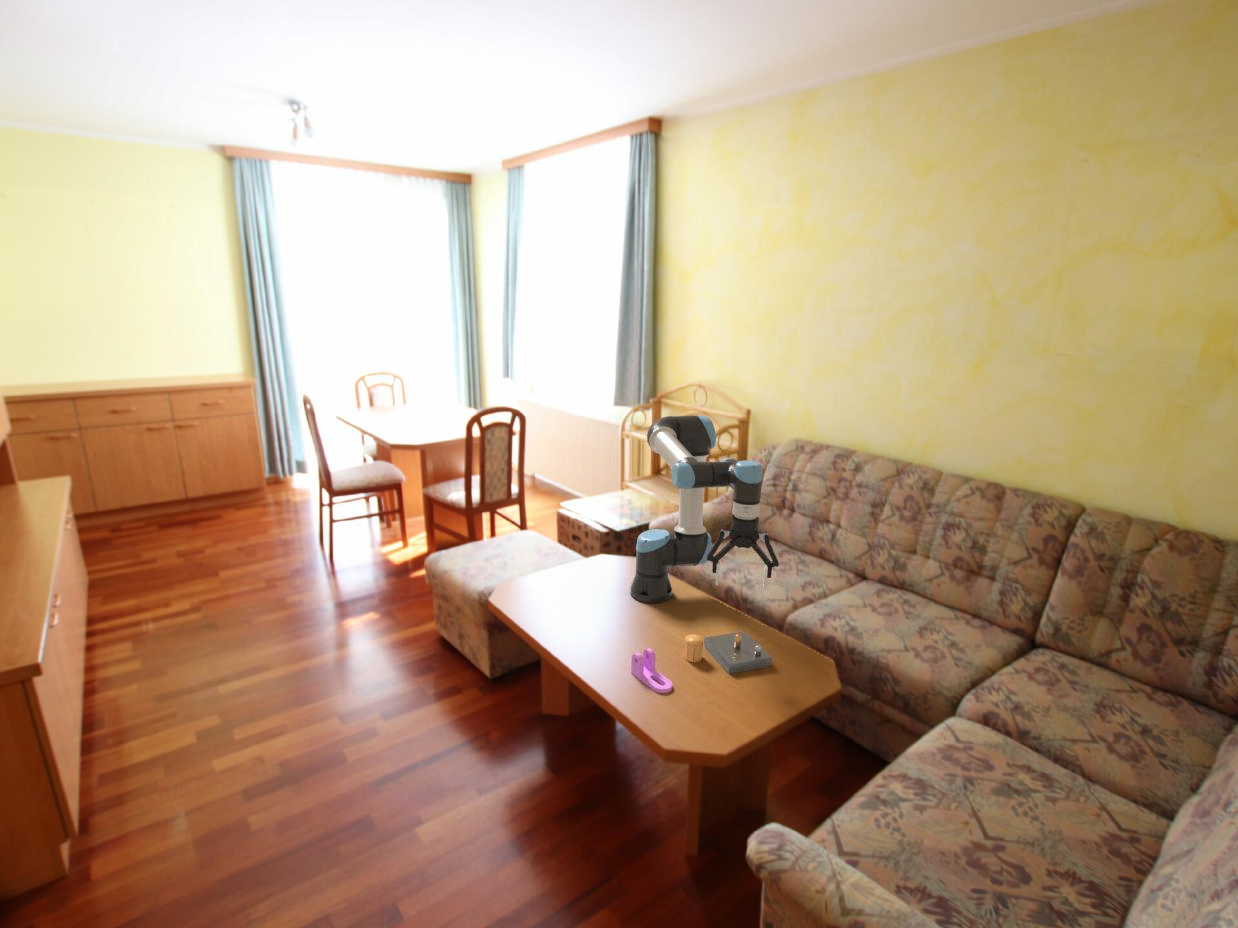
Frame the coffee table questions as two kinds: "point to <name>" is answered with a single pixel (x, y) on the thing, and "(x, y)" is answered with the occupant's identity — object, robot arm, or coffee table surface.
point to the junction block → (737, 652)
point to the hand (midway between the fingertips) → (740, 585)
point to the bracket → (649, 672)
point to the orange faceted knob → (693, 648)
